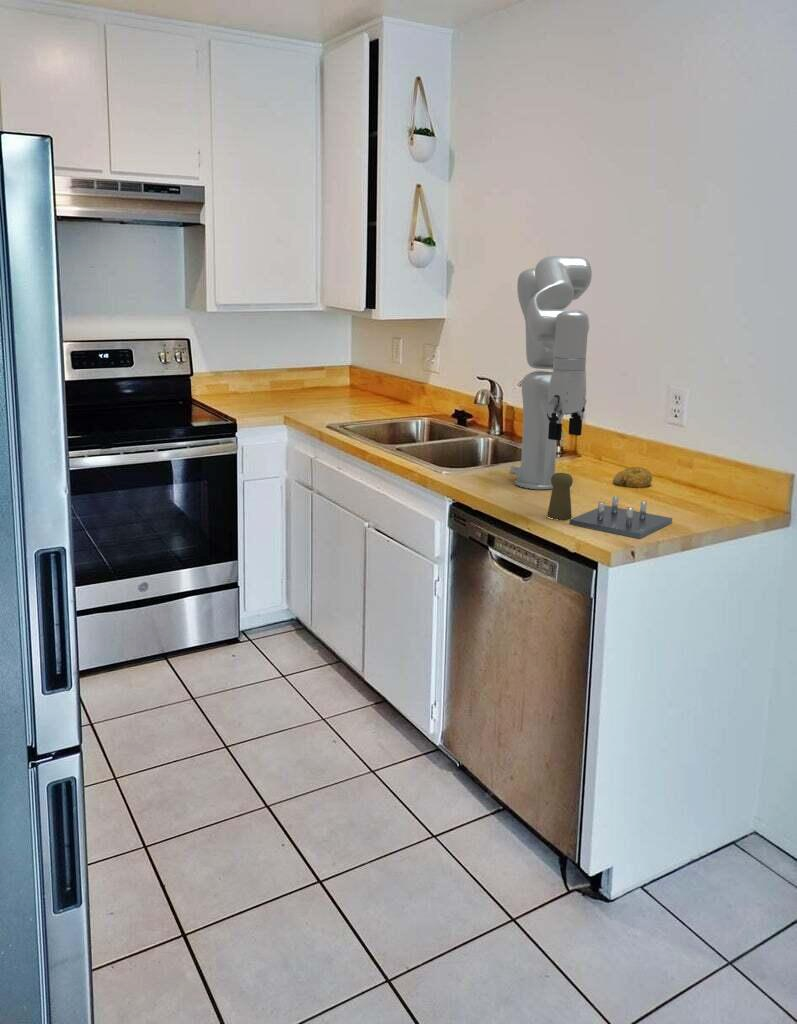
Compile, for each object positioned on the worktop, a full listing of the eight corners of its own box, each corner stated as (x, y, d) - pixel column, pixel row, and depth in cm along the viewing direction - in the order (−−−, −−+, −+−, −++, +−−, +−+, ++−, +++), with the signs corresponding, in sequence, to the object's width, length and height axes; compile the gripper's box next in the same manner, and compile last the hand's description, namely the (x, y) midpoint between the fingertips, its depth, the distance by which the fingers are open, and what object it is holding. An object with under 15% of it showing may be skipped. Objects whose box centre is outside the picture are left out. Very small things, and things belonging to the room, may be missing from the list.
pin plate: (569, 524, 218) (570, 503, 217) (604, 509, 232) (605, 489, 230) (639, 538, 207) (641, 516, 206) (671, 522, 221) (673, 502, 219)
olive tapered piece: (568, 514, 227) (571, 470, 224) (574, 520, 221) (577, 476, 219) (544, 513, 227) (547, 470, 224) (549, 520, 221) (552, 476, 218)
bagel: (608, 480, 265) (609, 464, 263) (646, 481, 265) (647, 465, 264) (617, 488, 255) (618, 472, 254) (656, 489, 255) (657, 472, 254)
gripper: (573, 362, 223) (568, 431, 228) (536, 366, 210) (532, 439, 215) (600, 364, 219) (595, 434, 223) (565, 368, 206) (560, 443, 210)
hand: (564, 437), depth 219 cm, fingers open, 9 cm apart
